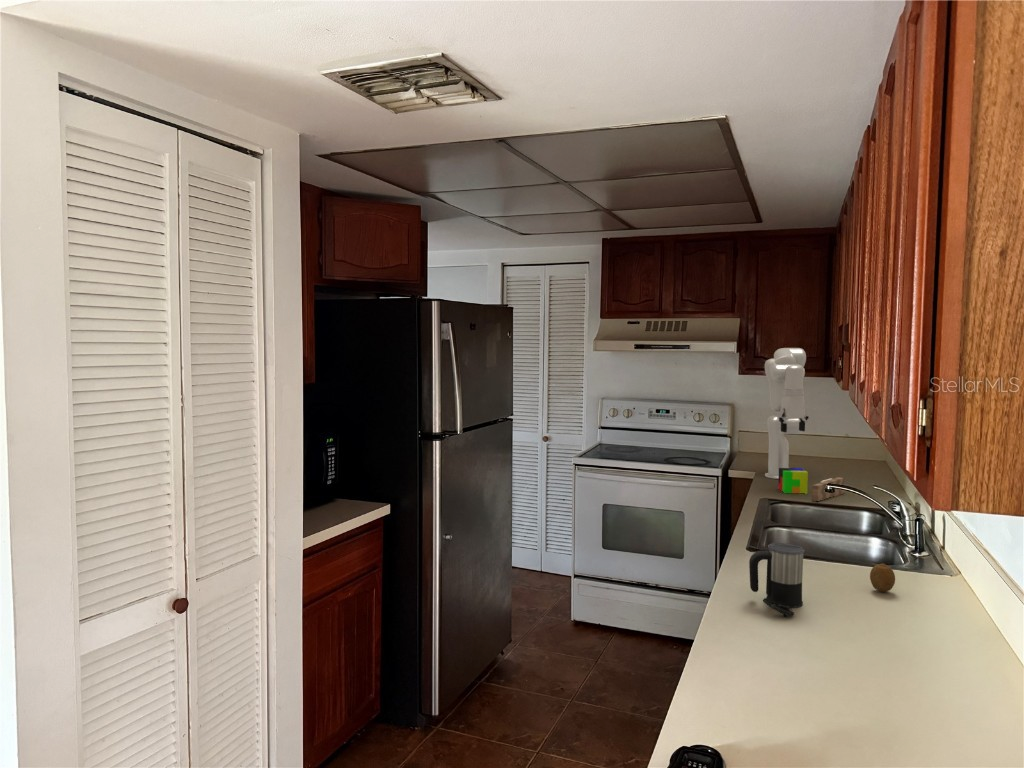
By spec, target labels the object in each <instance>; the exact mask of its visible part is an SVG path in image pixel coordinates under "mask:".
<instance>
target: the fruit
mask: <svg viewBox="0 0 1024 768" xmlns="http://www.w3.org/2000/svg"><path fill="white" fill-rule="evenodd" d="M869 580H870V583H871V585H872V587H873V589H875V590H876V591H878V592H880V593H886V592H889V591H891V590H892V589H893V588H894V585H895V583H896V575H895V571H894V570H893V568H892V567H891V566H889V565H886V564H885V563H880V564H876V565H874V566H873V567H872V568H871V570H870V573H869Z"/></svg>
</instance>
